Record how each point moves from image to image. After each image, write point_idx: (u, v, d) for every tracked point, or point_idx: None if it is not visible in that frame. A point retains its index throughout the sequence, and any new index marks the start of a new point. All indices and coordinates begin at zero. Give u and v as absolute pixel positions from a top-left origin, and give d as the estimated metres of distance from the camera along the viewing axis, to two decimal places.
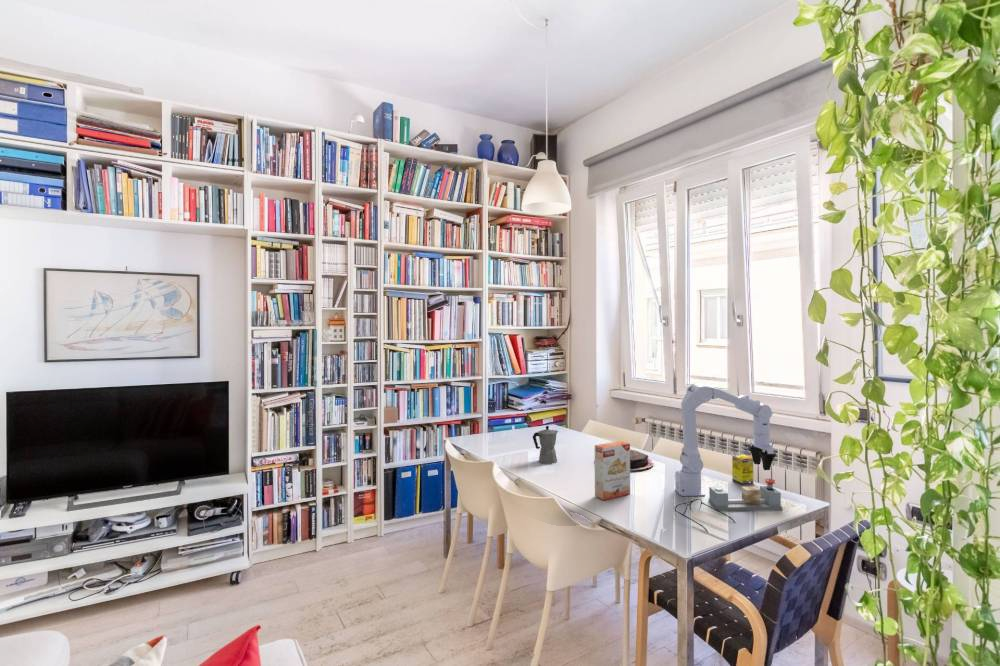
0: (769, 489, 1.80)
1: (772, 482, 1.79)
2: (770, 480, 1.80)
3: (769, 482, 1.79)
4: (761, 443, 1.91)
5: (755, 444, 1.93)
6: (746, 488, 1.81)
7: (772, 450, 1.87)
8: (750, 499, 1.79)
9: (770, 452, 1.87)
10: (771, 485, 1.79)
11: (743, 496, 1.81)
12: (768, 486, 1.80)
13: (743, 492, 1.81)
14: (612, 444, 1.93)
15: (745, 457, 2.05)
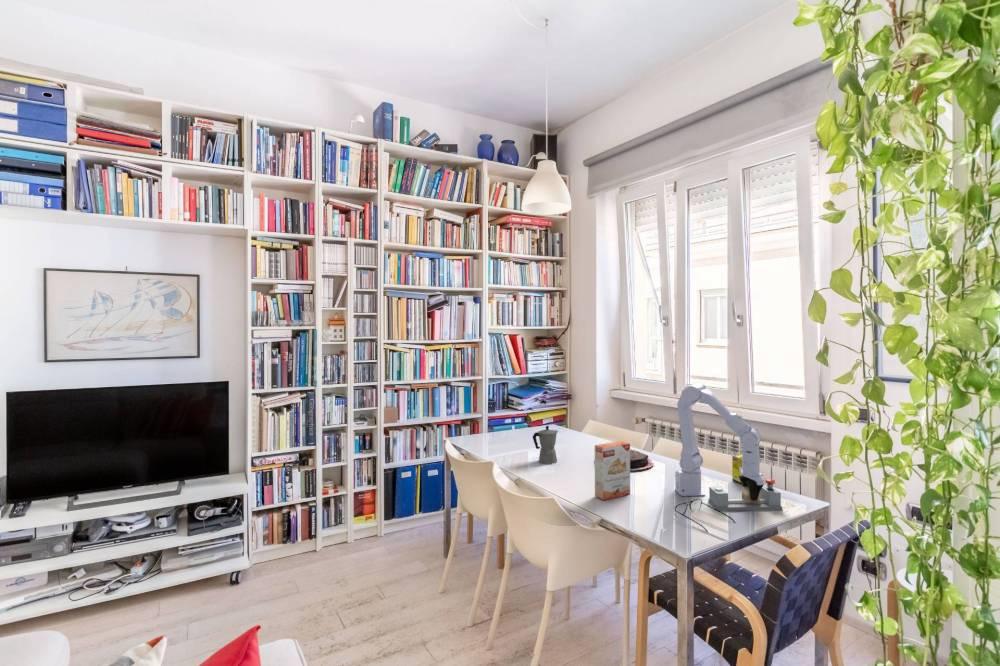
0: (769, 489, 1.80)
1: (772, 482, 1.79)
2: (770, 480, 1.80)
3: (769, 482, 1.79)
4: (750, 472, 1.78)
5: (744, 473, 1.80)
6: (746, 488, 1.81)
7: (762, 481, 1.73)
8: (750, 499, 1.79)
9: (760, 483, 1.73)
10: (771, 485, 1.79)
11: (743, 496, 1.81)
12: (768, 486, 1.80)
13: (743, 492, 1.81)
14: (612, 444, 1.93)
15: None
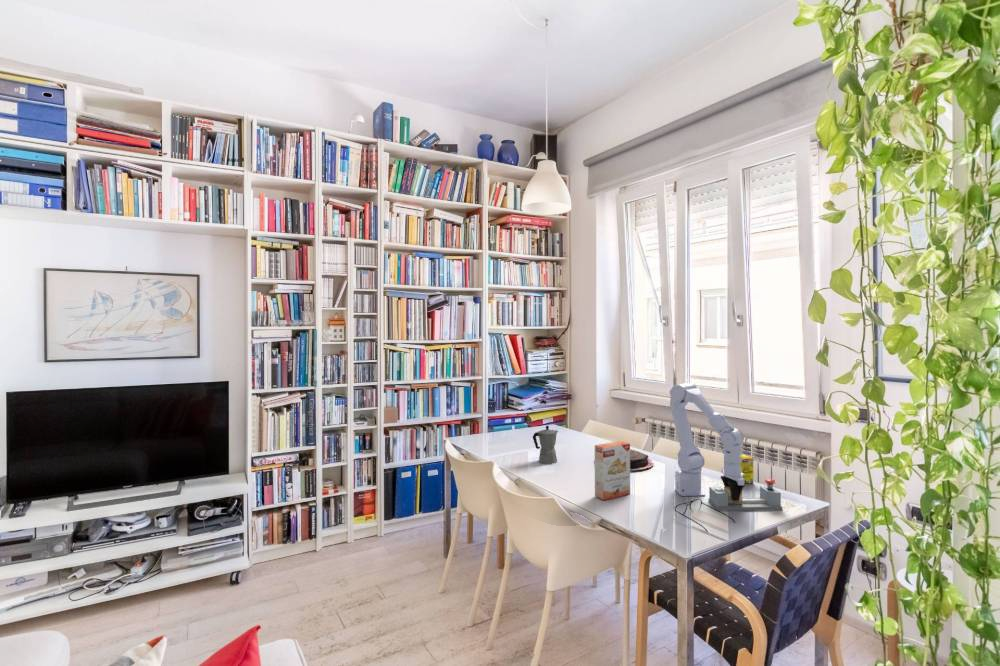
0: (769, 489, 1.80)
1: (772, 482, 1.79)
2: (770, 480, 1.80)
3: (769, 482, 1.79)
4: (731, 472, 1.78)
5: (725, 474, 1.80)
6: (728, 488, 1.81)
7: (743, 481, 1.73)
8: None
9: (740, 483, 1.73)
10: (771, 485, 1.79)
11: None
12: (768, 486, 1.80)
13: None
14: (612, 444, 1.93)
15: (745, 457, 2.05)
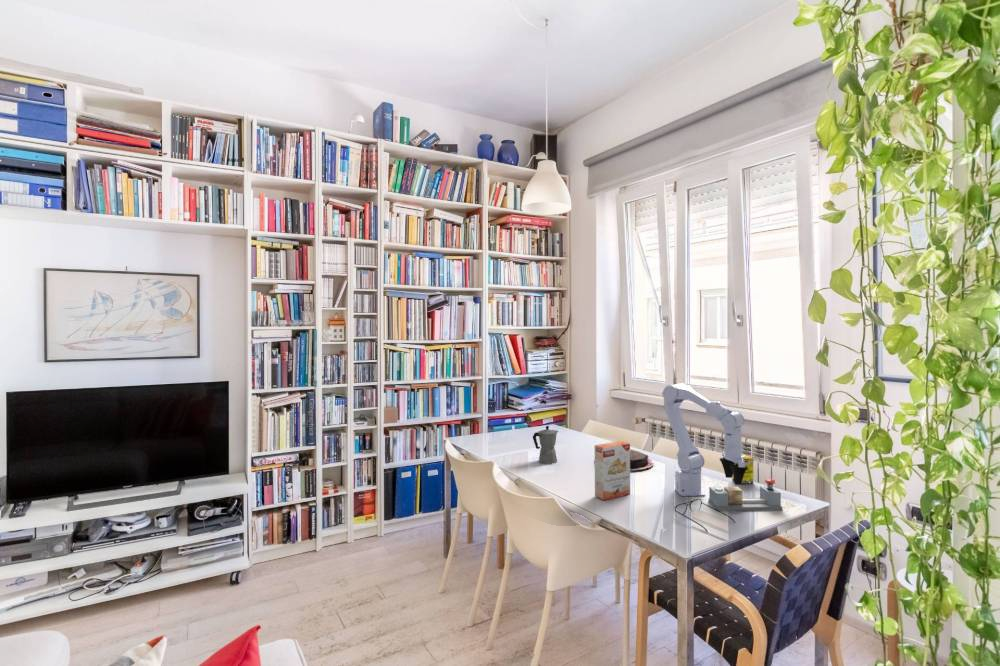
0: (769, 489, 1.80)
1: (772, 482, 1.79)
2: (770, 480, 1.80)
3: (769, 482, 1.79)
4: (732, 455, 1.78)
5: (726, 456, 1.80)
6: (728, 488, 1.81)
7: (743, 463, 1.73)
8: (732, 499, 1.79)
9: (741, 465, 1.73)
10: (771, 485, 1.79)
11: None
12: (768, 486, 1.80)
13: None
14: (612, 444, 1.93)
15: (745, 457, 2.05)
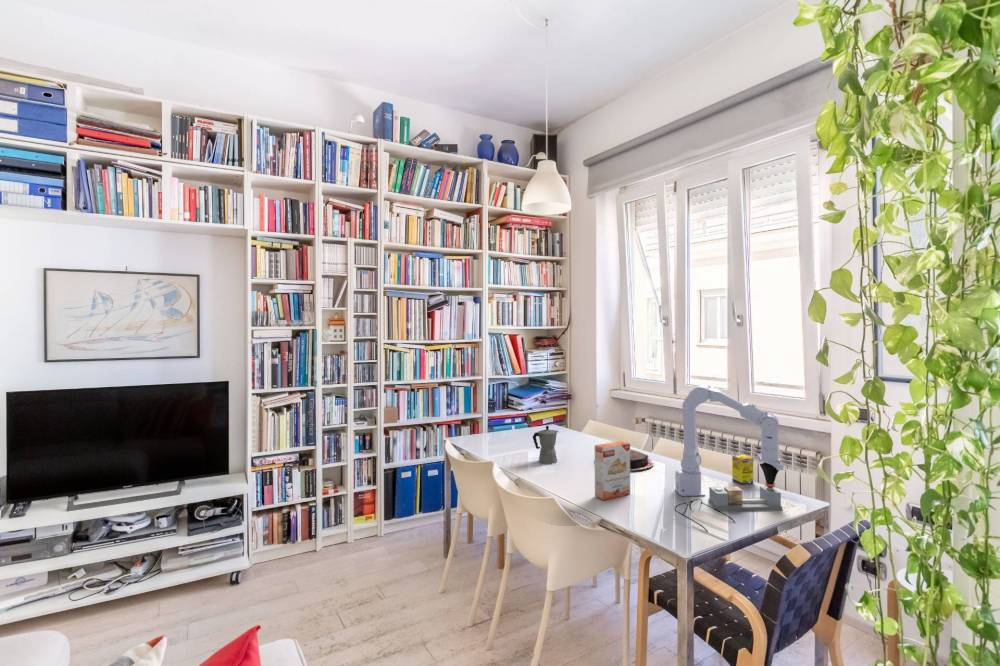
0: None
1: (772, 485, 1.79)
2: None
3: (769, 485, 1.79)
4: (769, 458, 1.78)
5: (763, 459, 1.79)
6: (728, 488, 1.81)
7: (782, 466, 1.73)
8: (732, 499, 1.79)
9: (779, 468, 1.73)
10: (771, 488, 1.79)
11: None
12: (768, 489, 1.80)
13: None
14: (612, 444, 1.93)
15: (745, 457, 2.05)
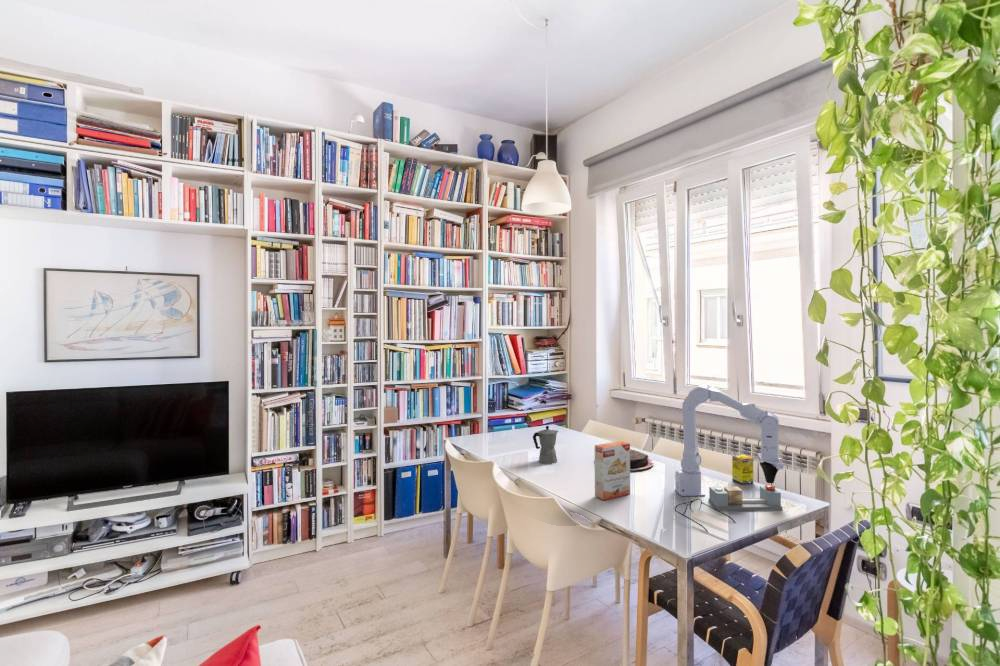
0: None
1: (772, 488, 1.79)
2: (770, 486, 1.80)
3: (769, 488, 1.79)
4: (769, 457, 1.78)
5: (763, 458, 1.79)
6: (728, 488, 1.81)
7: (781, 465, 1.73)
8: (732, 499, 1.79)
9: (779, 467, 1.73)
10: None
11: None
12: None
13: None
14: (612, 444, 1.93)
15: (745, 457, 2.05)
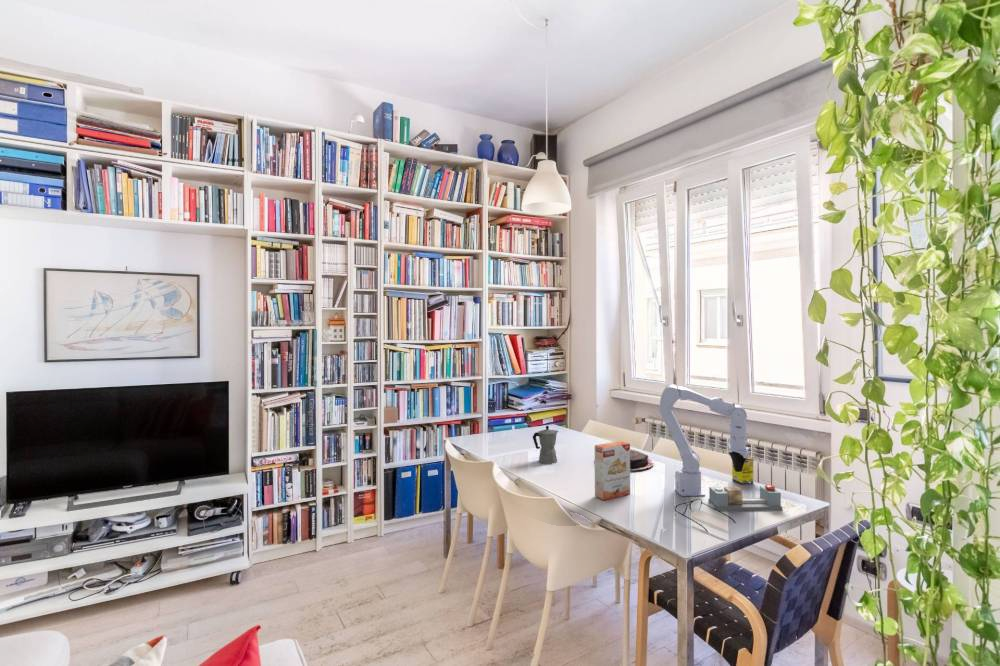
0: None
1: (772, 488, 1.79)
2: (770, 486, 1.80)
3: (769, 488, 1.79)
4: (737, 446, 1.86)
5: (731, 448, 1.88)
6: (728, 488, 1.81)
7: (748, 454, 1.81)
8: (732, 499, 1.79)
9: (746, 456, 1.81)
10: None
11: None
12: None
13: None
14: (612, 444, 1.93)
15: None
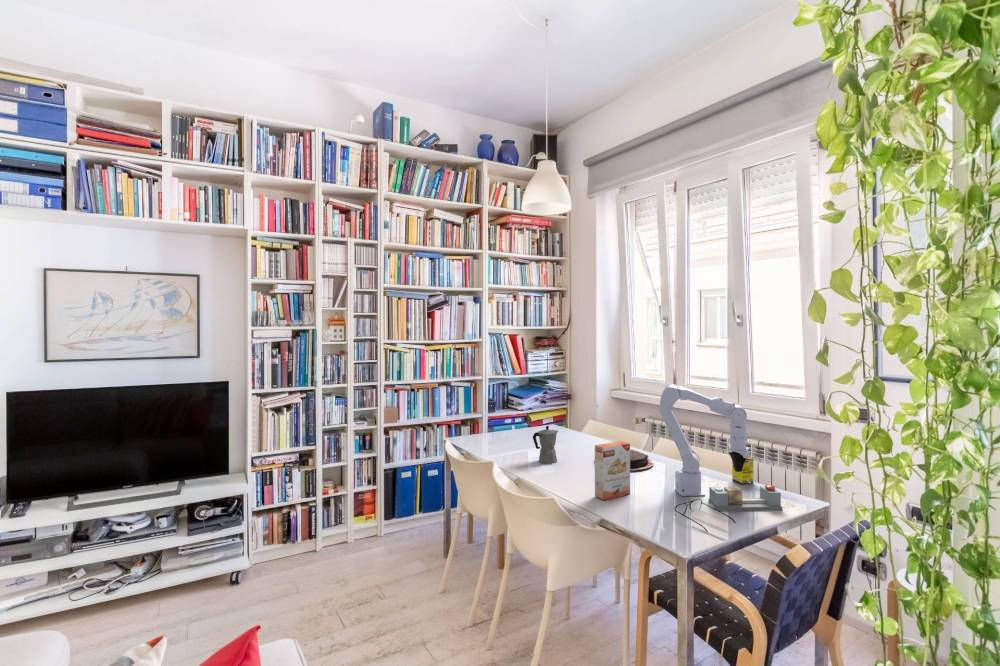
0: None
1: (772, 488, 1.79)
2: (770, 486, 1.80)
3: (769, 488, 1.79)
4: (737, 446, 1.86)
5: (731, 448, 1.88)
6: (728, 488, 1.81)
7: (748, 454, 1.81)
8: (732, 499, 1.79)
9: (746, 456, 1.81)
10: None
11: None
12: None
13: None
14: (612, 444, 1.93)
15: None
